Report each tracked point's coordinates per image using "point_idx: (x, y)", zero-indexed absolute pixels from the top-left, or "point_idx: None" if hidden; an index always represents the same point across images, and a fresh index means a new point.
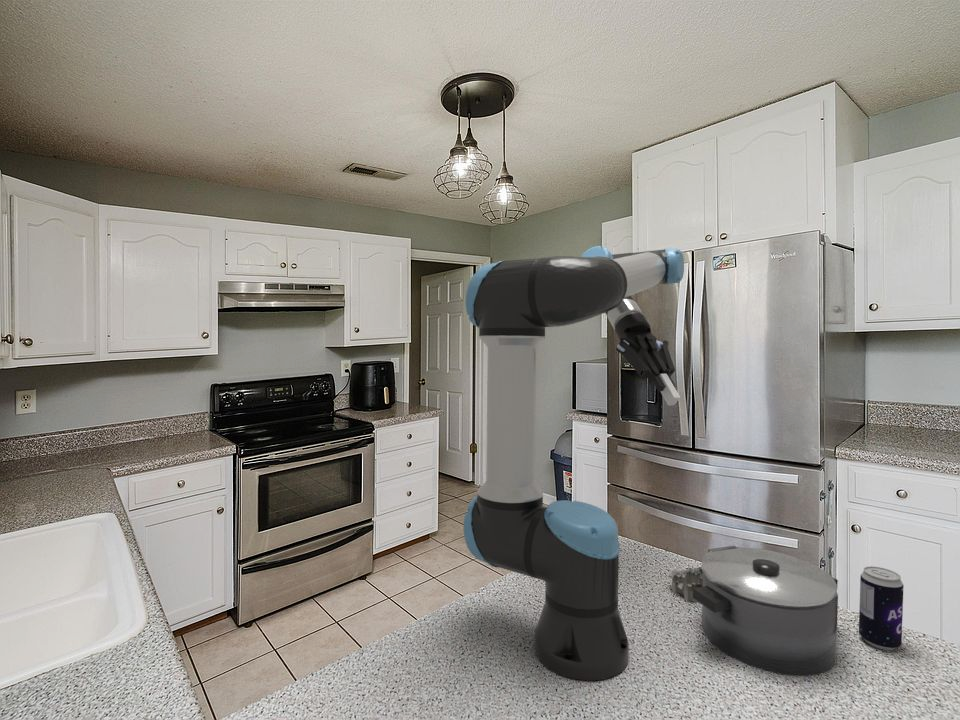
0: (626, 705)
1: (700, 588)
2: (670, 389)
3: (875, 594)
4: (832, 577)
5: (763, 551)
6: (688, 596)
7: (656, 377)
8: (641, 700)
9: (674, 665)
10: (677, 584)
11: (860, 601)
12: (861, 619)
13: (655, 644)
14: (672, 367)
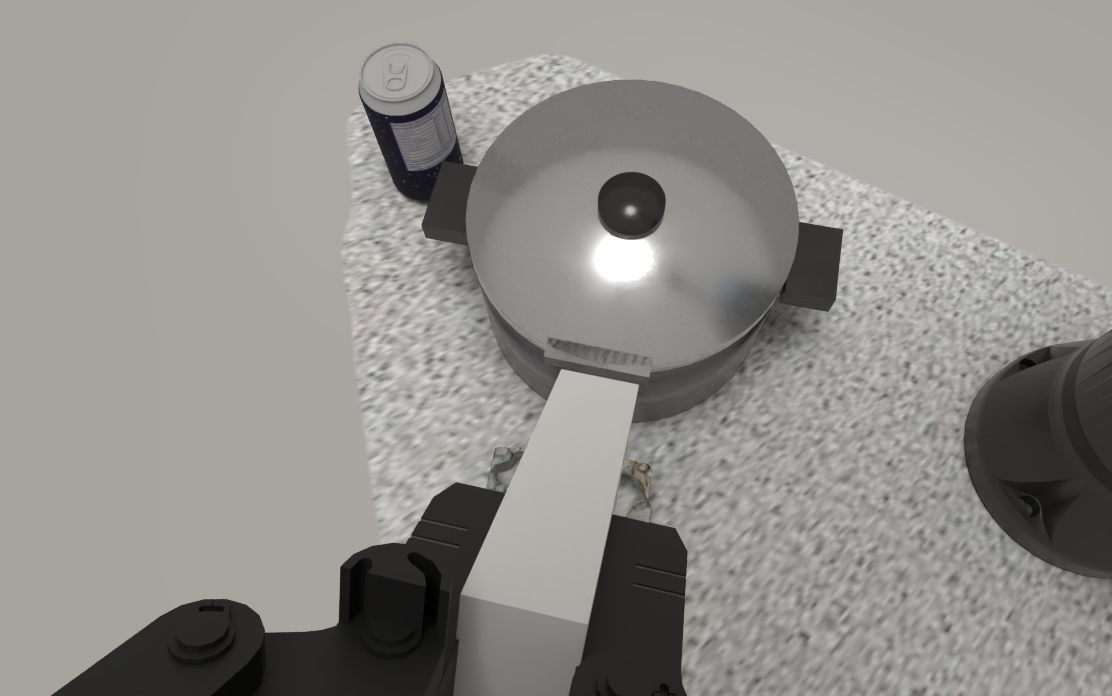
0: (1076, 288)
1: (816, 290)
2: (613, 438)
3: (446, 94)
4: (439, 172)
5: (505, 285)
6: (643, 489)
7: (660, 657)
8: (1039, 284)
9: (899, 323)
10: None
11: (435, 148)
12: None
13: (885, 393)
14: (149, 666)
